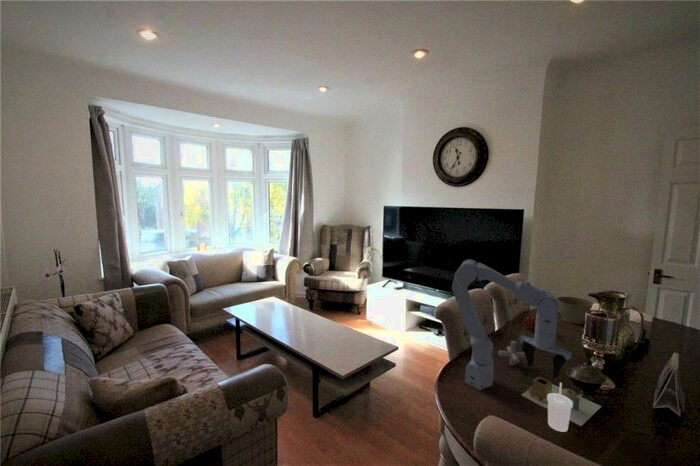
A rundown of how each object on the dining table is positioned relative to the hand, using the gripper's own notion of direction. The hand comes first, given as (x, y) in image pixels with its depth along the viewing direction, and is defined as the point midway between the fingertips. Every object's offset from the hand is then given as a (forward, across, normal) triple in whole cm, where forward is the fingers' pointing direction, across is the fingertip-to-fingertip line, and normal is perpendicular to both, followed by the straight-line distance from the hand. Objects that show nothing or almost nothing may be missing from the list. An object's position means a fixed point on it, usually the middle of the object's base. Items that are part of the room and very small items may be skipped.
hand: (542, 371), depth 101 cm
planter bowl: (+10, +21, -82) cm, 86 cm away
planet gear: (+8, 0, 0) cm, 8 cm away
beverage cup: (+10, -9, +11) cm, 17 cm away
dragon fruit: (+10, +27, -53) cm, 60 cm away
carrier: (+9, -5, -2) cm, 11 cm away
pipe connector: (+10, +16, -11) cm, 22 cm away
